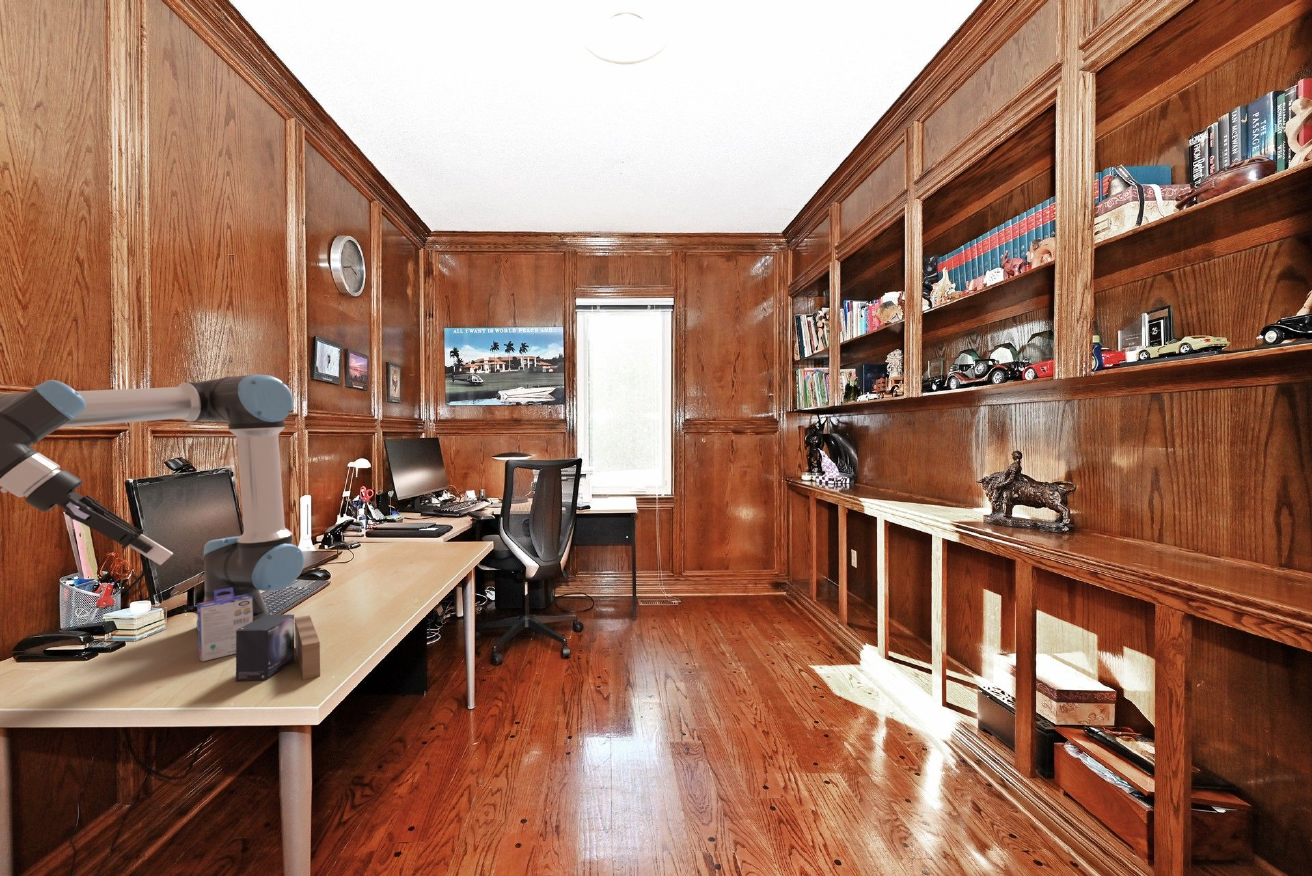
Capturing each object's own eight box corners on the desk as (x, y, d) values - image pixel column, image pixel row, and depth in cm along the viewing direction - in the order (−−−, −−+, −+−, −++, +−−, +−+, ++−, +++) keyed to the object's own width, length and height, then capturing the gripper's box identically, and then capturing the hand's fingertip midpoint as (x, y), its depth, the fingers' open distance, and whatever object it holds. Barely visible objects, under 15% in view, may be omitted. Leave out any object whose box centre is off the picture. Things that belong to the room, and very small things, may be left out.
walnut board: (295, 647, 134) (294, 617, 134) (310, 644, 136) (309, 615, 136) (303, 679, 116) (302, 645, 116) (320, 676, 118) (319, 642, 118)
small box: (268, 680, 116) (267, 629, 116) (234, 682, 116) (233, 630, 115) (296, 660, 127) (295, 612, 127) (265, 661, 126) (264, 613, 126)
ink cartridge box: (249, 644, 137) (248, 583, 137) (255, 649, 133) (254, 587, 133) (196, 656, 130) (195, 592, 129) (201, 662, 126) (200, 596, 126)
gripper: (32, 496, 109) (153, 568, 120) (11, 503, 99) (146, 581, 109) (70, 466, 112) (185, 539, 123) (54, 470, 102) (181, 549, 112)
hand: (166, 559), depth 116 cm, fingers closed
